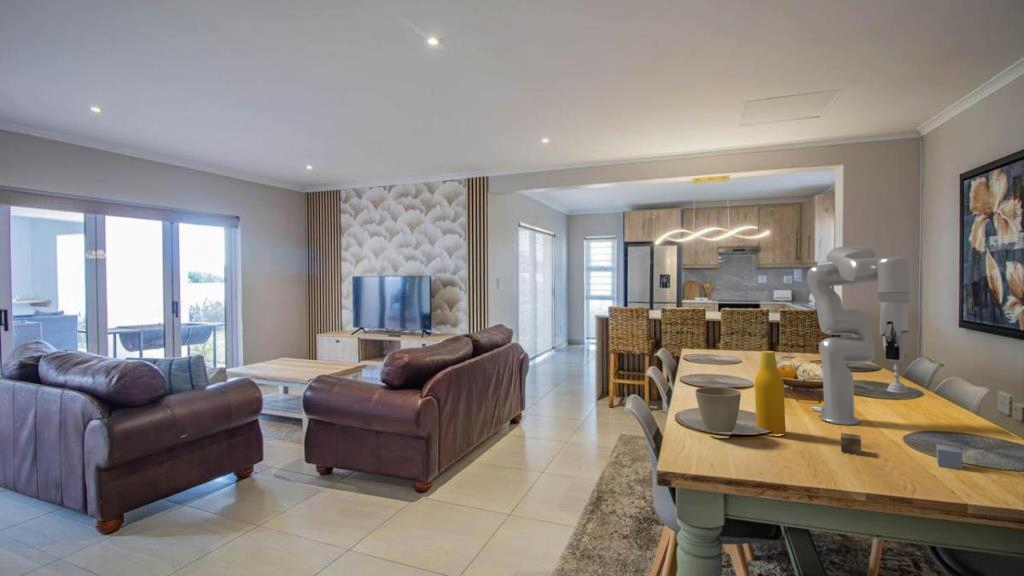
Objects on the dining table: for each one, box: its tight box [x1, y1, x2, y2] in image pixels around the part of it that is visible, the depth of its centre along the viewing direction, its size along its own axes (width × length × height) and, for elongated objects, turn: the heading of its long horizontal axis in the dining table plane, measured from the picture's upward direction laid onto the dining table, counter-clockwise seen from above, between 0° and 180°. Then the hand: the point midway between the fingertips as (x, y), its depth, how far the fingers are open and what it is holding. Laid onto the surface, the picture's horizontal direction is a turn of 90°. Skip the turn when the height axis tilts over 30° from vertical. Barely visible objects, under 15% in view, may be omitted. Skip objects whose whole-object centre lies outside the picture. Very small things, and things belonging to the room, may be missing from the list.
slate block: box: [935, 444, 964, 471], centre depth 136 cm, size 5×5×5 cm
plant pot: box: [694, 386, 742, 432], centre depth 170 cm, size 15×15×16 cm
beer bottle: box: [754, 350, 787, 435], centre depth 171 cm, size 9×9×29 cm
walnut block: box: [840, 432, 862, 456], centre depth 150 cm, size 5×5×5 cm
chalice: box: [882, 330, 911, 394], centre depth 144 cm, size 7×7×18 cm
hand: (896, 357), depth 144 cm, fingers closed on chalice, 6 cm apart
